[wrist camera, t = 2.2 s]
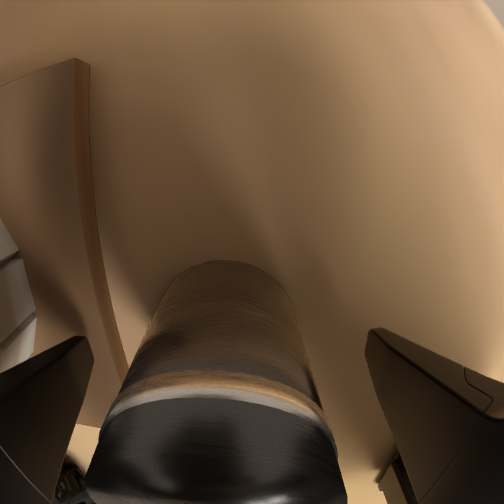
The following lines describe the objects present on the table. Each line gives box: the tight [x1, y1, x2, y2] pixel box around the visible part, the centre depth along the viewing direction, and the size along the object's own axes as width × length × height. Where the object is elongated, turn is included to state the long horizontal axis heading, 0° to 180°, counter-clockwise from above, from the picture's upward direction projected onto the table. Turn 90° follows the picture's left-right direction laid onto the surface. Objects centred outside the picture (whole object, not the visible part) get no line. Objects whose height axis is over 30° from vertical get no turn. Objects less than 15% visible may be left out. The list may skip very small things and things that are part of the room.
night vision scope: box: [51, 467, 96, 504], centre depth 10 cm, size 8×18×10 cm
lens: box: [85, 261, 347, 504], centre depth 7 cm, size 5×5×7 cm
